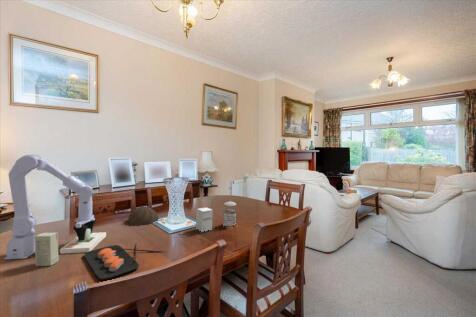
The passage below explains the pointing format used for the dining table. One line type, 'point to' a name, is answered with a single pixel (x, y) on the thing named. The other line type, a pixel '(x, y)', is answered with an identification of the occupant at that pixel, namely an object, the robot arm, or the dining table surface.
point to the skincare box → (46, 249)
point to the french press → (231, 211)
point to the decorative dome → (142, 216)
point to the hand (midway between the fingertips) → (85, 237)
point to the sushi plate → (112, 261)
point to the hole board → (83, 244)
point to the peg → (87, 236)
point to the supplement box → (204, 219)
